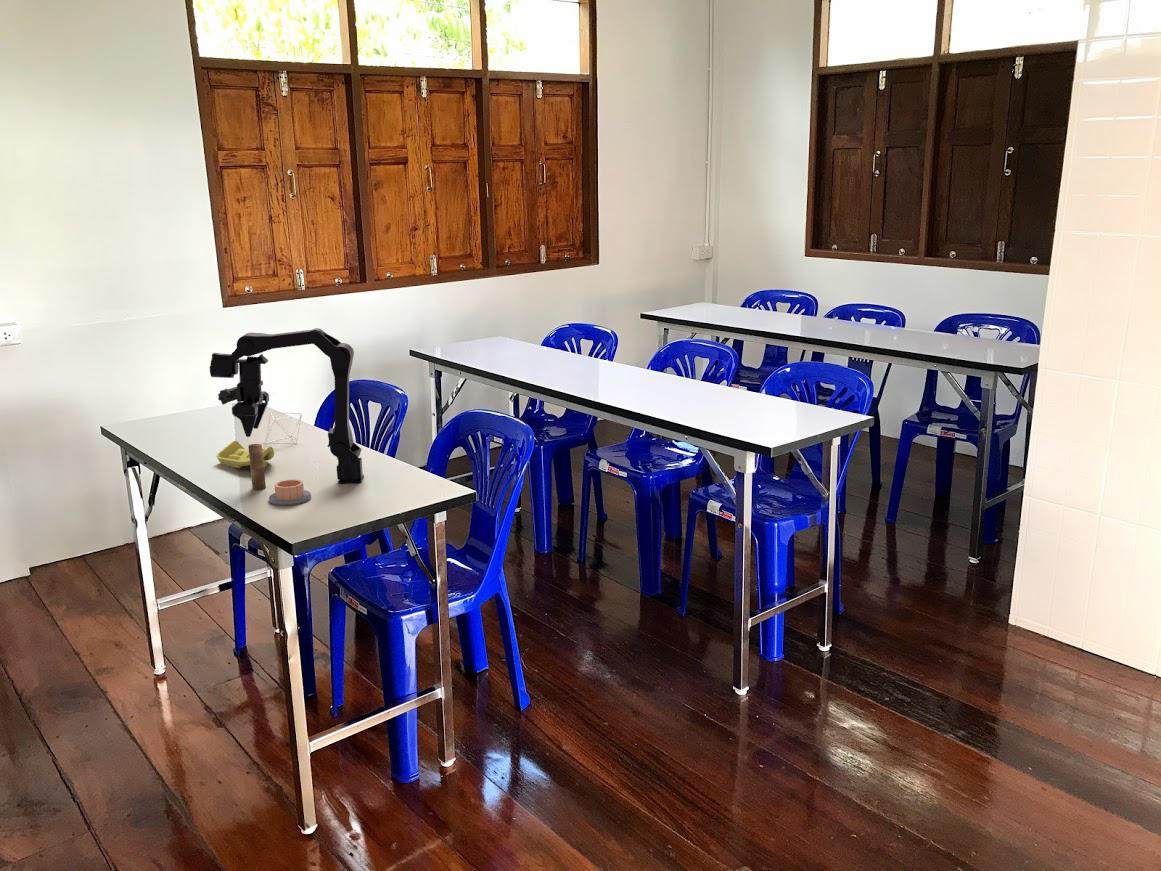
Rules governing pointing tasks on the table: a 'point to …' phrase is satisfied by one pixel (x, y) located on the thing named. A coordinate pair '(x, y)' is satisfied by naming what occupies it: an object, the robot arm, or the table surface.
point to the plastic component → (240, 455)
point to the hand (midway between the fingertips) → (252, 432)
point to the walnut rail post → (257, 466)
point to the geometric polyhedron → (284, 427)
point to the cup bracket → (289, 493)
